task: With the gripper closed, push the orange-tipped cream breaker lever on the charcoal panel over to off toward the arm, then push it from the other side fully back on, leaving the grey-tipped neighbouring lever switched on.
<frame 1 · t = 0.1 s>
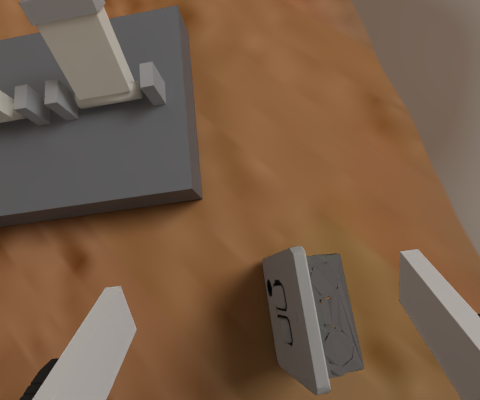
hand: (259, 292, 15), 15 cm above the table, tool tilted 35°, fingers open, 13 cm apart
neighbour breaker: (89, 53, 28), point 9 cm above the table, hinge at 30.0°
electrical switch: (298, 303, 30), on the table
breaker panel: (82, 128, 37), on the table
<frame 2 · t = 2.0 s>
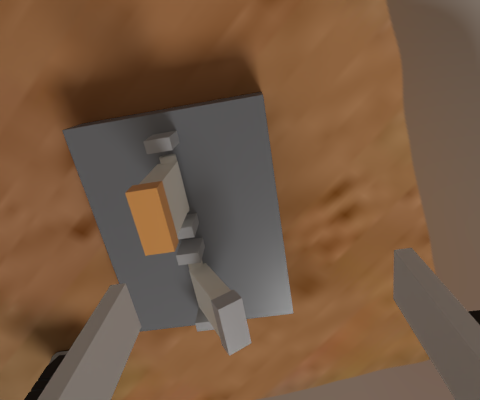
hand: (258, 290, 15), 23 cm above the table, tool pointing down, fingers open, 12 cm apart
tripped breaker: (165, 199, 29), point 9 cm above the table, hinge at 0.0°
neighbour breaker: (214, 300, 34), point 9 cm above the table, hinge at 30.0°
breaker panel: (195, 216, 40), on the table
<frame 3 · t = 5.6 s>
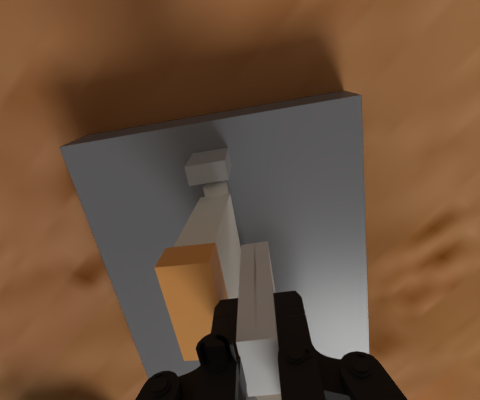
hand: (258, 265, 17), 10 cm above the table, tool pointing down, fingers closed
tripped breaker: (213, 257, 19), point 9 cm above the table, hinge at -4.4°, touching gripper
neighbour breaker: (277, 389, 24), point 9 cm above the table, hinge at 30.0°
breaker panel: (239, 258, 30), on the table
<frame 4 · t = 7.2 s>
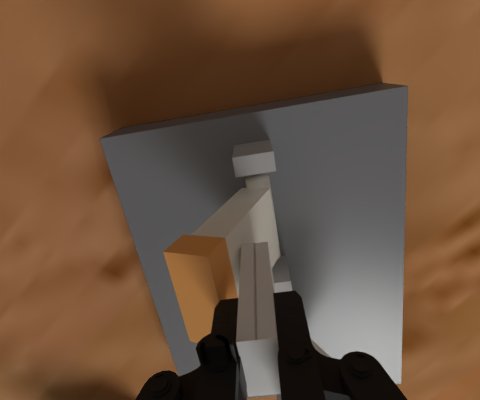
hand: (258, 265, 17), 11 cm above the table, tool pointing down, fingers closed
tripped breaker: (239, 249, 19), point 9 cm above the table, hinge at -23.4°, touching gripper
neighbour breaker: (316, 383, 23), point 9 cm above the table, hinge at 30.0°
breaker panel: (270, 253, 29), on the table
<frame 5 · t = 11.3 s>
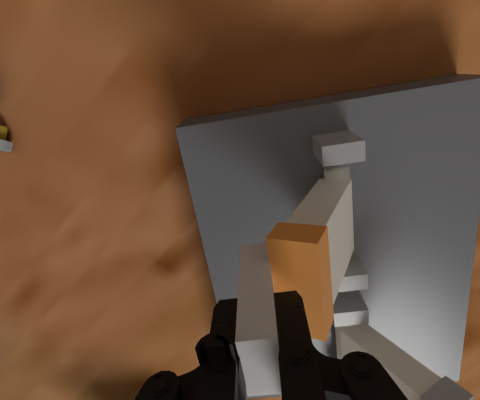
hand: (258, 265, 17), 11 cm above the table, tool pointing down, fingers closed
tripped breaker: (323, 240, 19), point 9 cm above the table, hinge at -26.4°, touching gripper
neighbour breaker: (387, 379, 23), point 9 cm above the table, hinge at 30.0°
breaker panel: (327, 247, 29), on the table
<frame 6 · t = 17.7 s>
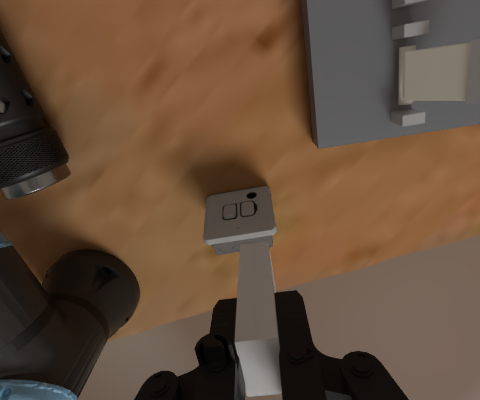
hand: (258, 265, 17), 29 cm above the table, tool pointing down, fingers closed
muzzle brake: (10, 75, 43), on the table
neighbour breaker: (442, 73, 33), point 9 cm above the table, hinge at 30.0°
electrical switch: (242, 205, 49), on the table
breaker panel: (388, 21, 39), on the table
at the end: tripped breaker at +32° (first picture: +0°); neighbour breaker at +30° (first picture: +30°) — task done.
